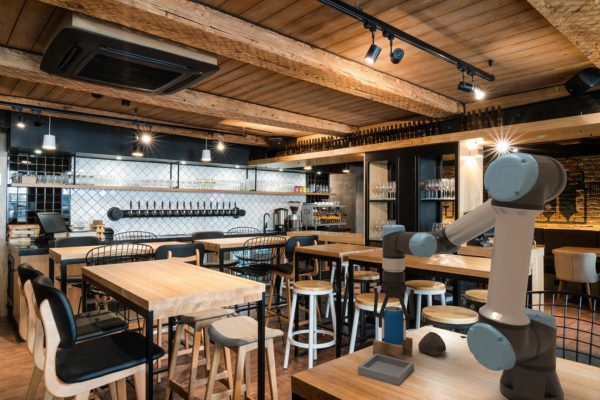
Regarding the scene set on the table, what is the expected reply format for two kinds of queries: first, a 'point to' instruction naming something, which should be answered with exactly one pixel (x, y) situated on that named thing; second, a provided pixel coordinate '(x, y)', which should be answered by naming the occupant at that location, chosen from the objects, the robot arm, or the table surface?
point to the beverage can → (393, 325)
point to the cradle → (393, 348)
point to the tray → (386, 369)
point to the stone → (432, 344)
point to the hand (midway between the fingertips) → (393, 337)
